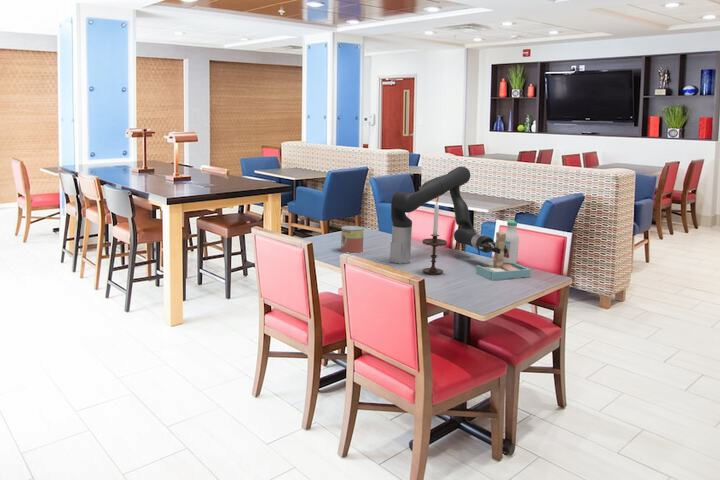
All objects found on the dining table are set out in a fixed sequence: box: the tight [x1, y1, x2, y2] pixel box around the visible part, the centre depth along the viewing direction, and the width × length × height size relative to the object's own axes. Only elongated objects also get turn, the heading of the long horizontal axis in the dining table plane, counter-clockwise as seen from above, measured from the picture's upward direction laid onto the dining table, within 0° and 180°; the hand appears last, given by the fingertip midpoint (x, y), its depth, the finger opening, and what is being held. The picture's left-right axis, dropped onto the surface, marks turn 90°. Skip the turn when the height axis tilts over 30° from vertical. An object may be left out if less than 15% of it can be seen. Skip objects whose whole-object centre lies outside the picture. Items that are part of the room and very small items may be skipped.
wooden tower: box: [483, 231, 512, 270], centre depth 290 cm, size 3×14×18 cm, turn 112°
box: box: [476, 263, 532, 281], centre depth 287 cm, size 12×20×4 cm, turn 112°
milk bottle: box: [503, 220, 520, 264], centre depth 310 cm, size 8×8×20 cm
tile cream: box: [489, 268, 505, 272], centre depth 286 cm, size 6×6×3 cm
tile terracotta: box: [502, 267, 519, 271], centre depth 289 cm, size 6×6×3 cm
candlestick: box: [421, 196, 448, 276], centre depth 285 cm, size 11×11×35 cm
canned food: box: [340, 225, 365, 255], centre depth 323 cm, size 11×11×12 cm
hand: (503, 251), depth 287 cm, fingers closed on wooden tower, 3 cm apart
